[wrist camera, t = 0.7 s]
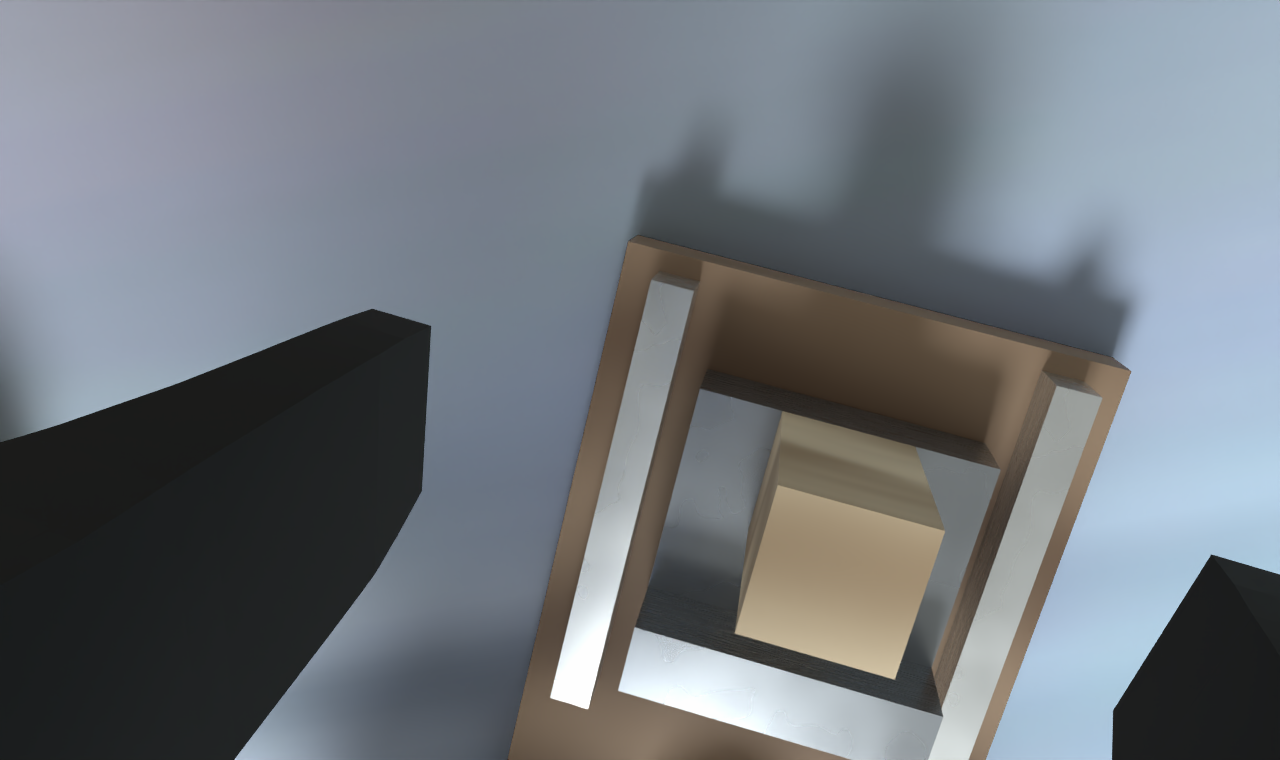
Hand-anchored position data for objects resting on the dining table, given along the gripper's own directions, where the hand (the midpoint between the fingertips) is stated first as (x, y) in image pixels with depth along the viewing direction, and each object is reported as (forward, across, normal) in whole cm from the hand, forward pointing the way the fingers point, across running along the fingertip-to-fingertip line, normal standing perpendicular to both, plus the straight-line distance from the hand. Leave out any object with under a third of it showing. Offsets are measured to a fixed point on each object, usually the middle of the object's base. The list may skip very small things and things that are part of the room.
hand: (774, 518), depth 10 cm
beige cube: (+13, -1, +10) cm, 17 cm away
